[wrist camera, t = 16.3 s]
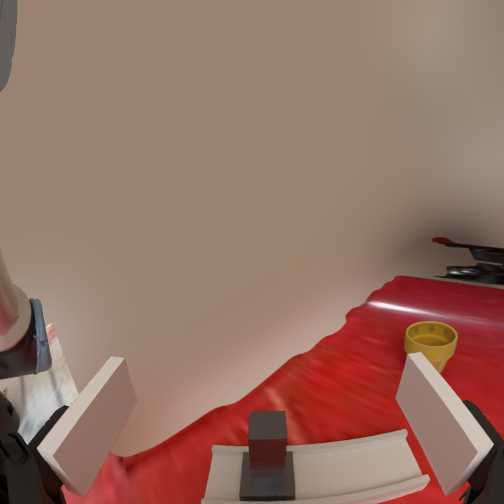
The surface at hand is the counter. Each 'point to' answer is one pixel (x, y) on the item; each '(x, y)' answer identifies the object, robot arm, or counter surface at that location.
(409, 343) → the plant pot
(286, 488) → the post
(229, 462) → the rail
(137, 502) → the counter surface
